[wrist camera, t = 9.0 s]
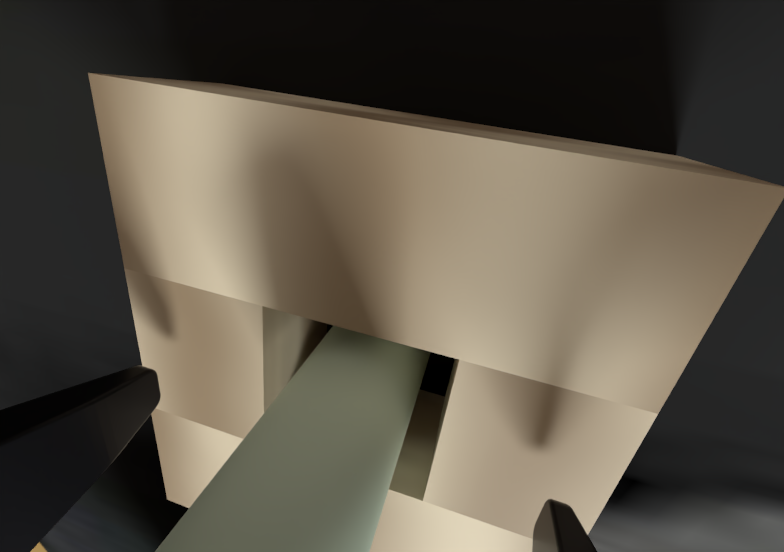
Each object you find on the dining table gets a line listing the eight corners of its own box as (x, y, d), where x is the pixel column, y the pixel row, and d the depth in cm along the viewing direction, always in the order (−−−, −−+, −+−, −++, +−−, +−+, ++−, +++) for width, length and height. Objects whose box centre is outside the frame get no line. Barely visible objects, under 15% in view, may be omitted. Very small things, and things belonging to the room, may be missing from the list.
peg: (444, 296, 12) (319, 680, 4) (427, 372, 13) (307, 777, 5) (353, 274, 12) (81, 572, 4) (345, 349, 14) (124, 683, 6)
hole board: (676, 155, 9) (788, 188, 5) (521, 510, 15) (526, 641, 11) (221, 83, 11) (88, 72, 8) (238, 416, 17) (167, 499, 13)
